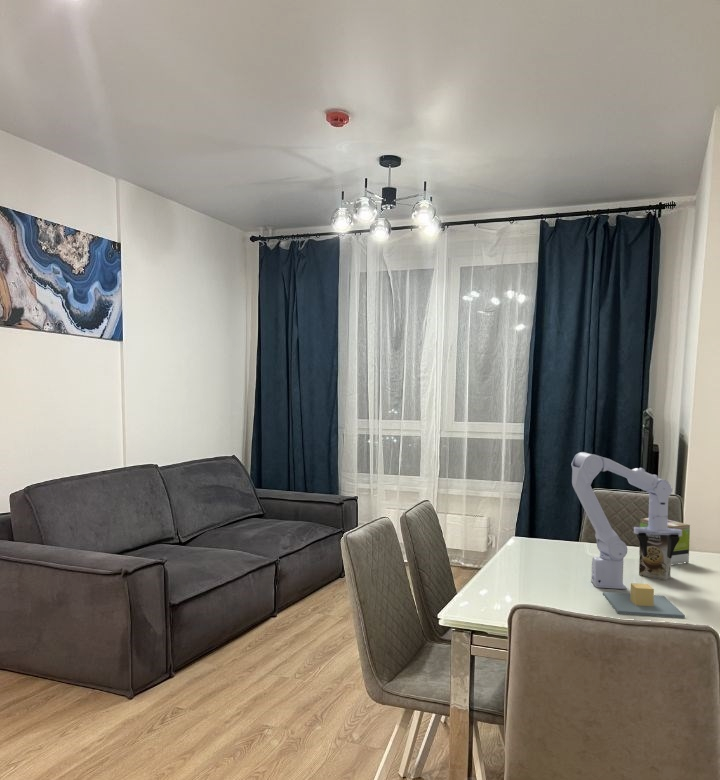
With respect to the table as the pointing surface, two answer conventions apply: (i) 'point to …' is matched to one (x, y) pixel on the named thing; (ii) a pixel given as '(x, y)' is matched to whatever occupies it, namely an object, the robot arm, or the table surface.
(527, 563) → the table surface
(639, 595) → the mustard cube
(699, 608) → the table surface
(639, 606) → the slate mat
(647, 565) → the coffee box
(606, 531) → the robot arm
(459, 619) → the table surface
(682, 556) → the tea box
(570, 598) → the table surface
